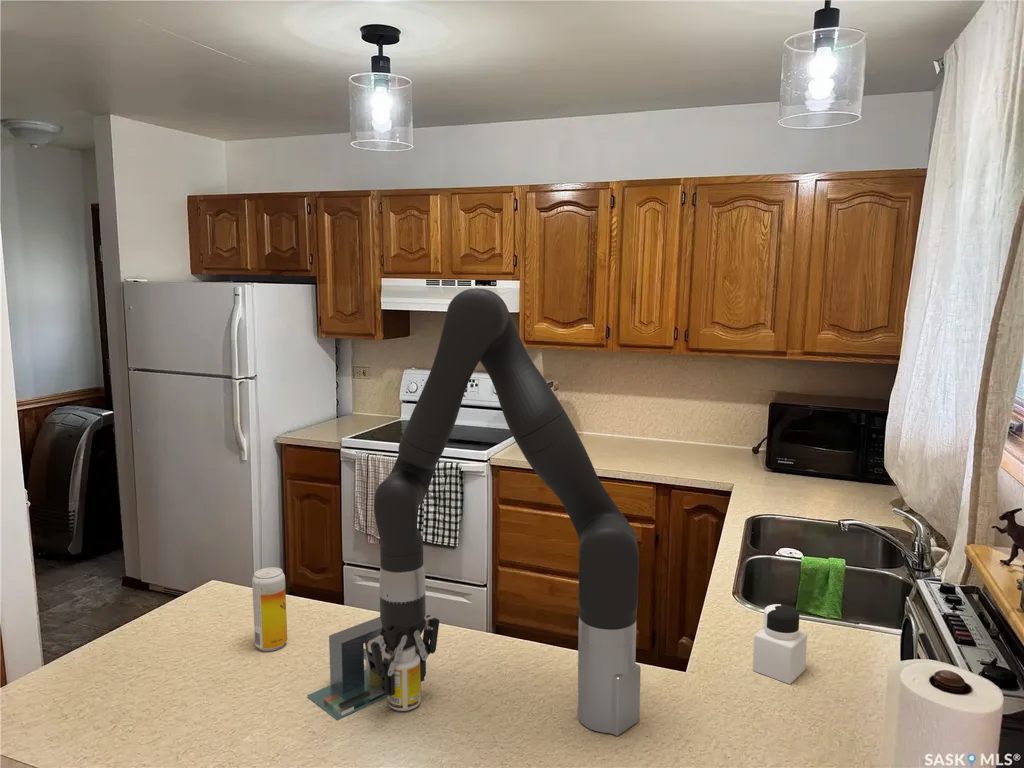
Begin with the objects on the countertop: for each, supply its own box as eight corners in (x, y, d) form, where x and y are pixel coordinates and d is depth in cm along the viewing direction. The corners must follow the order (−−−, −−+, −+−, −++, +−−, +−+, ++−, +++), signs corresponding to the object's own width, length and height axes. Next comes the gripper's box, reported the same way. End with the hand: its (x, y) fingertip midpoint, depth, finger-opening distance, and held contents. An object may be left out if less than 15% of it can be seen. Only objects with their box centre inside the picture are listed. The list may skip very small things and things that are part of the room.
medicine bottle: (805, 670, 133) (809, 608, 132) (790, 685, 128) (793, 620, 126) (768, 657, 138) (771, 597, 136) (751, 671, 133) (754, 608, 131)
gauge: (422, 679, 130) (421, 629, 128) (337, 720, 117) (335, 664, 116) (391, 661, 136) (390, 612, 135) (307, 697, 124) (305, 644, 123)
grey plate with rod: (408, 681, 127) (407, 639, 127) (341, 712, 118) (340, 667, 117) (382, 665, 133) (381, 625, 132) (316, 693, 123) (314, 650, 123)
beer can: (294, 642, 143) (291, 570, 142) (269, 655, 138) (265, 580, 136) (273, 635, 147) (270, 564, 145) (248, 647, 142) (245, 574, 140)
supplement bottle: (421, 693, 125) (420, 637, 124) (420, 711, 119) (419, 653, 118) (388, 695, 124) (387, 638, 123) (386, 713, 119) (385, 654, 118)
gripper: (379, 611, 112) (381, 713, 114) (450, 585, 122) (451, 679, 124) (352, 597, 117) (355, 694, 119) (422, 573, 127) (424, 663, 129)
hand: (404, 686), depth 121 cm, fingers closed on supplement bottle, 5 cm apart
